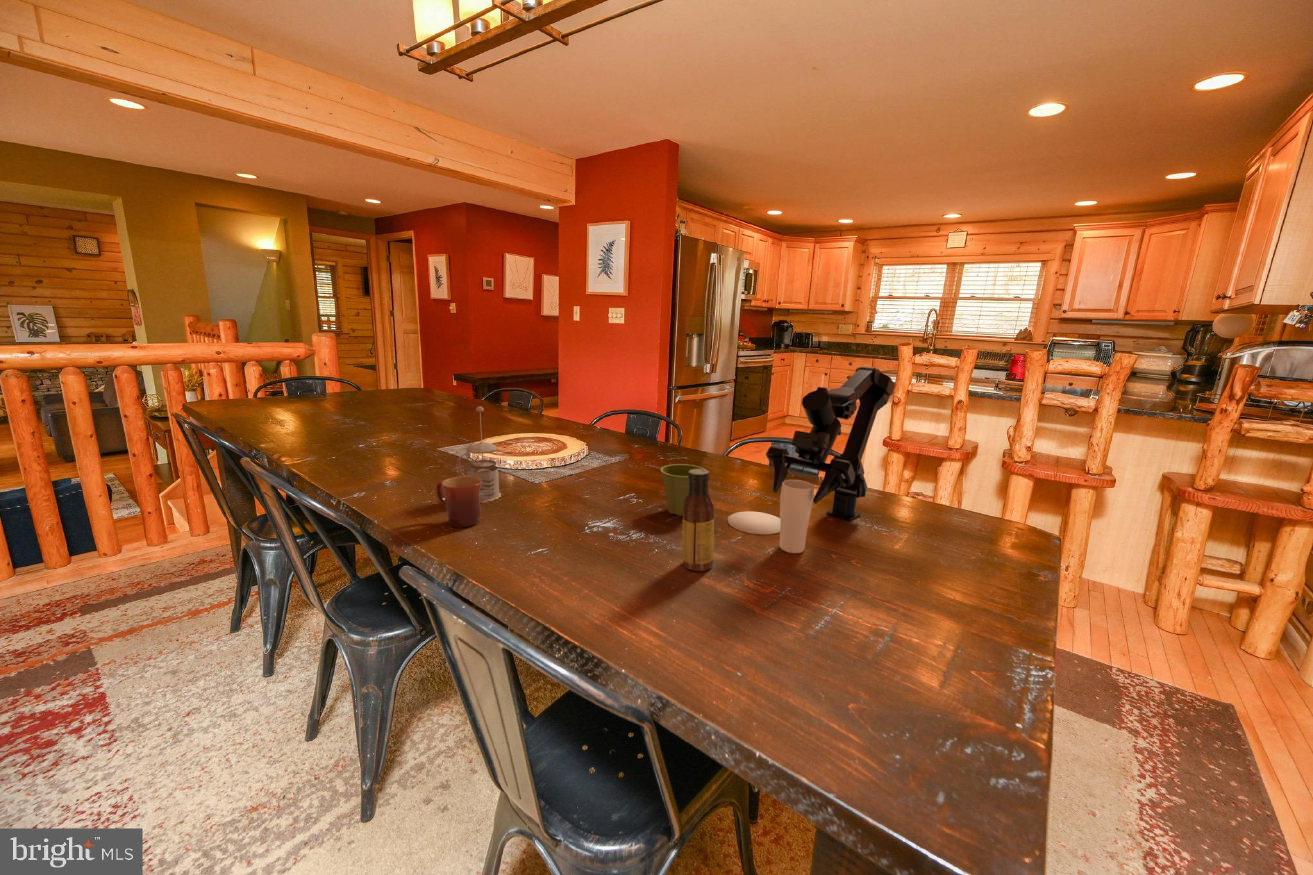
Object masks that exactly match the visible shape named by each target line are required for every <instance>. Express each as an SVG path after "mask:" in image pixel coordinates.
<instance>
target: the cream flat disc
mask: <svg viewBox="0 0 1313 875" xmlns="http://www.w3.org/2000/svg"><path fill="white" fill-rule="evenodd" d="M727 523H728V525H729V526H730V527H732V528H733V529H736V530H737V531H740V532H743V533H747V534H752V535H761V536H765V535H773V534H774V535H775V534H778V533H779V534H780V517H779V516H775V515H773V514H769V513H766V512H759V511H750V510H749V511H739V512H734V513H732V514H730V515H729V516H728V517H727Z"/></svg>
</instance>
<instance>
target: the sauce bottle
mask: <svg viewBox="0 0 1313 875" xmlns="http://www.w3.org/2000/svg"><path fill="white" fill-rule="evenodd" d="M704 469H705V468H704ZM704 469H692V470H689V472H688V478H689V494H688V495H687V497H686V498H685V500H684V502H683V516H682V543H681V544H682V548H681V549H682V550H681V551H682V553H681V554H682V555H681V557H682V564H683V566H684V567H685V569H687V570H691V571H693V572H705V571H709V570H710V569H711V568H712V567H713V564H714V550H715V549H714V548H715V547H714V546H715V545H714V541H715V539H714V538H715V532H714V531H715V514H714V511H715V510H714V504H713V502H712V500H711V496H710V493H709V479H710V472H709V470H707V469H706V470H704Z"/></svg>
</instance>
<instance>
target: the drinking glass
mask: <svg viewBox="0 0 1313 875" xmlns="http://www.w3.org/2000/svg"><path fill="white" fill-rule="evenodd" d="M814 493H815V486H814V484H813V483H812V482H809V481H805V480H800V479H785V480H784V481H783V482H782V485H781V487H780V499H779V501H780V502H779V518H780V532H779V545H778V546H779V548H780V549H781V550H782V551H783V552H786V553H787V554H801V553H803V552H804V551H805V548H806V540H807V535H808V529H809V523H810V518H811V514H812V509H813V504H814V502H813V500H814V497H815V494H814Z"/></svg>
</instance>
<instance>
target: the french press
mask: <svg viewBox="0 0 1313 875" xmlns="http://www.w3.org/2000/svg"><path fill="white" fill-rule="evenodd" d="M475 411H476V412H479V421H480V422H479V423H480V424H479V425H480V426H479V427H480V428H482V415H481V414H482V413H481V412H484V407H483V406H477V407H476V409H475ZM482 432H483V431H482V429H480V442H475V443H473V444H471V445H468V446H467V447H466V448H465V451H466V452H465V453H463V454H462V455H460V456H459V457H458V459H457V461H456V463H455V464H456V471H457V474H458V475H459V477H460V476H466V475H465V474H464V473H463V471H462V469H461V460H462V458H463V457H464V456H466V459H467V460H468V459H470V454H478V455H479V454H480V455H481V459H476V460H473V461H469V462H468V466H469V468H468V470H467V476H473V477H478V478H480V479H482V484H481V487H480V493H479V497H480V502H487V501H493V500H495V499H498V498H499V497H501V494H502V493H501V491H500V487H499V486H500V485H499V484H500V483H499V468H498V466H497V461H495V460H493V459H484V454H491V453H495V452H497V450H498V449H499V448H498V446H497V445H495V444H493V443H490V442H484V441H483V434H482ZM458 466H459V468H458ZM482 469H485V470H482ZM489 470H490V471H489ZM459 471H460V472H459ZM478 471H479V472H478ZM460 473H461V474H462V475H461V474H460Z"/></svg>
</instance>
